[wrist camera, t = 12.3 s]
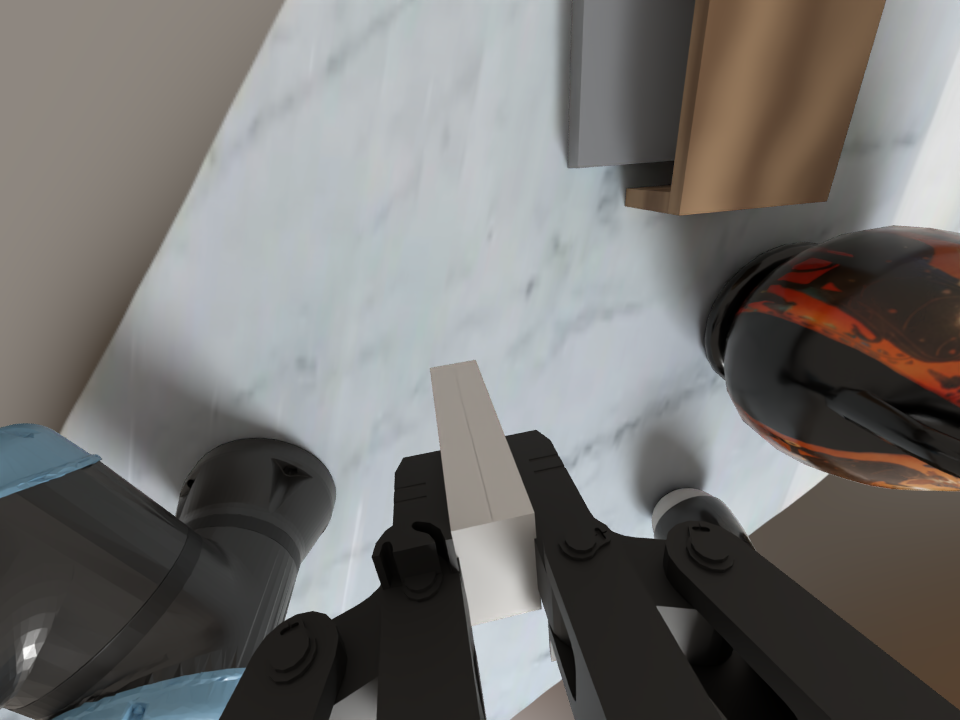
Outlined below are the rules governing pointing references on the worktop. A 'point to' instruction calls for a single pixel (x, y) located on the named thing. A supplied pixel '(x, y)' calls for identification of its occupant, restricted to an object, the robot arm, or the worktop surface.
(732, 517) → the pump dispenser
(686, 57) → the slate board
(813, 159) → the walnut shelf
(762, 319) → the amphora vase
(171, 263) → the worktop surface
